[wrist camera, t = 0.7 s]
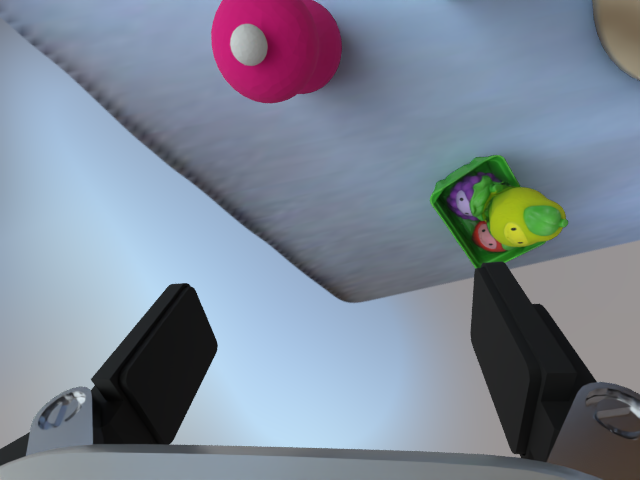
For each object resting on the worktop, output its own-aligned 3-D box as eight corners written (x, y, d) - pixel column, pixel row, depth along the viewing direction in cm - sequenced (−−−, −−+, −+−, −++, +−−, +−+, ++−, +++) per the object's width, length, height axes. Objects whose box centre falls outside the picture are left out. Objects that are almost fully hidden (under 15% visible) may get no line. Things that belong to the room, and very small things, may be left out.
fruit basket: (418, 181, 38) (437, 225, 28) (494, 131, 35) (546, 163, 25) (468, 251, 42) (499, 313, 32) (541, 213, 38) (602, 268, 28)
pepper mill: (359, 35, 32) (352, 13, 14) (319, 103, 35) (275, 153, 18) (293, -14, 31) (201, -101, 13) (258, 62, 34) (148, 72, 17)
